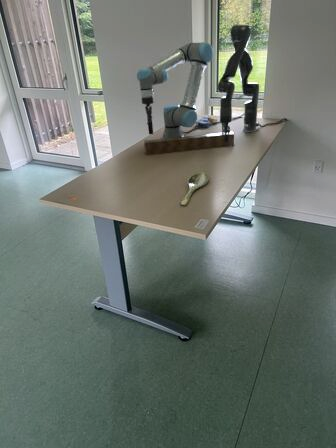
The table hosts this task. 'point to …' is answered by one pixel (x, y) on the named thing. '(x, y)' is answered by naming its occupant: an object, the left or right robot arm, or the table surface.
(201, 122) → the spray gun
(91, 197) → the table surface
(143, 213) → the table surface
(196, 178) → the spoon
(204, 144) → the block
